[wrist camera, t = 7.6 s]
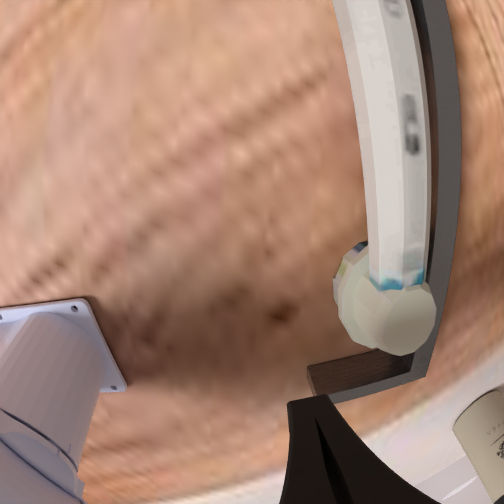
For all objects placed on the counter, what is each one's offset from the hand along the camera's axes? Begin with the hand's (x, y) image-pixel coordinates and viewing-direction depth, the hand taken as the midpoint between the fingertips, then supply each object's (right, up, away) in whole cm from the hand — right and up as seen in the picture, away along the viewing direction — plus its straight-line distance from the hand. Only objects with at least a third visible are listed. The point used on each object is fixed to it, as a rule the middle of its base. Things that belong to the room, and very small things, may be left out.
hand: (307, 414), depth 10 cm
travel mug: (+27, -15, +20) cm, 37 cm away
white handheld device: (+4, +13, +6) cm, 15 cm away
